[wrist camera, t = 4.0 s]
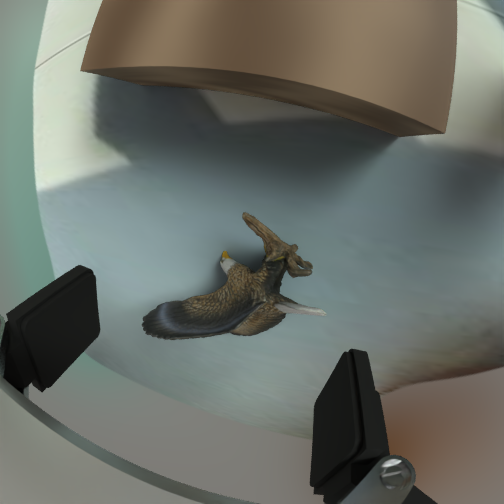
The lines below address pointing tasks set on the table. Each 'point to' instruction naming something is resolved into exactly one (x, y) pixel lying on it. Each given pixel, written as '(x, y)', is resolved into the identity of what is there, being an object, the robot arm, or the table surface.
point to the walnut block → (291, 53)
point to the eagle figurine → (237, 296)
